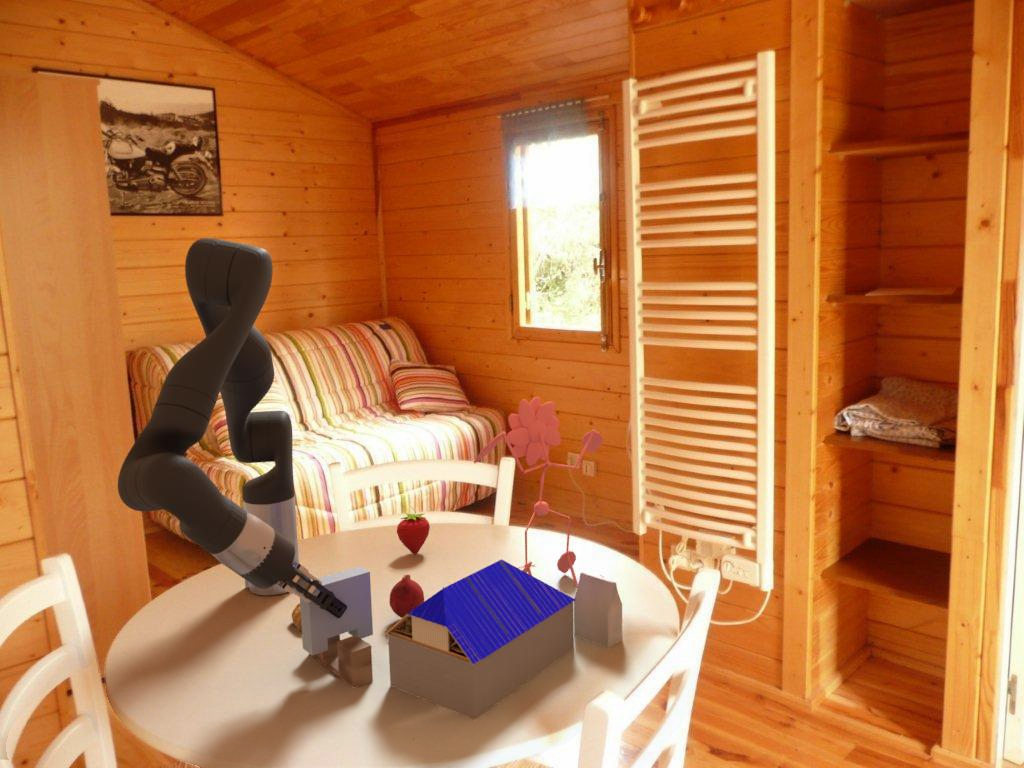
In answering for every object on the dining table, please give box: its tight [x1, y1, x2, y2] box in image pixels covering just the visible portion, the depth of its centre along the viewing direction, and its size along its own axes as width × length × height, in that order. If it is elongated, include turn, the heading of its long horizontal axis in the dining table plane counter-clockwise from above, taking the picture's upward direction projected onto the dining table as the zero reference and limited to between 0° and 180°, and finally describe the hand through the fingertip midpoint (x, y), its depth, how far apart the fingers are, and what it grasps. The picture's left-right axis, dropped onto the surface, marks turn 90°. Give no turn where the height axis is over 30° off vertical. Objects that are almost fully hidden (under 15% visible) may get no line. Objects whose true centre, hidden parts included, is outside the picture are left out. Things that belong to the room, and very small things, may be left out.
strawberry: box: [396, 507, 431, 555], centre depth 172 cm, size 6×8×10 cm
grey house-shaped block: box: [573, 572, 623, 649], centre depth 133 cm, size 4×7×10 cm, turn 47°
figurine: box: [473, 396, 605, 586], centre depth 155 cm, size 15×26×35 cm, turn 124°
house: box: [384, 559, 576, 720], centre depth 124 cm, size 25×16×16 cm, turn 143°
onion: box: [389, 573, 425, 619], centre depth 141 cm, size 6×6×8 cm
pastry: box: [291, 602, 302, 632], centre depth 140 cm, size 9×7×4 cm
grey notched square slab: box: [299, 566, 374, 657], centre depth 124 cm, size 10×3×10 cm, turn 130°
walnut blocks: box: [309, 634, 374, 689], centre depth 125 cm, size 14×3×6 cm, turn 40°
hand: (336, 608), depth 124 cm, fingers closed on grey notched square slab, 3 cm apart
